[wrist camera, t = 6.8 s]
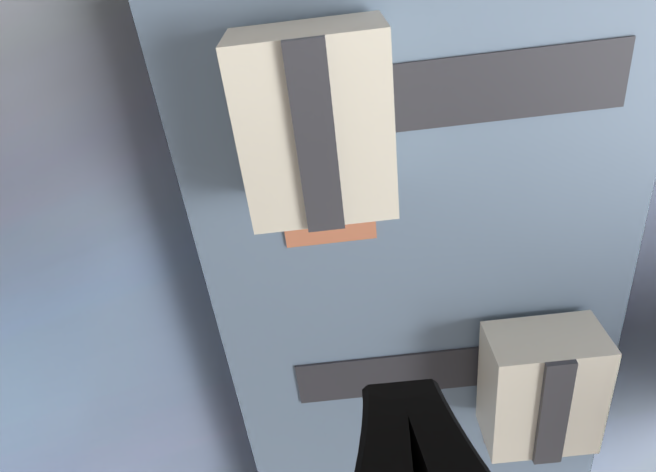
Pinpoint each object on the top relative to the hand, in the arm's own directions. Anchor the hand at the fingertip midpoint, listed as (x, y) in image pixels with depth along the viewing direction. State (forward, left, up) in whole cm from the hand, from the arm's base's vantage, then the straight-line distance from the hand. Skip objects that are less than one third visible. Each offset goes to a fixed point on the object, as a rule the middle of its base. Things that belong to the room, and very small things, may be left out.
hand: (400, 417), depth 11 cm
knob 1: (+1, -4, -8) cm, 9 cm away
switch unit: (-2, +8, -10) cm, 13 cm away
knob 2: (-6, +7, -8) cm, 13 cm away
